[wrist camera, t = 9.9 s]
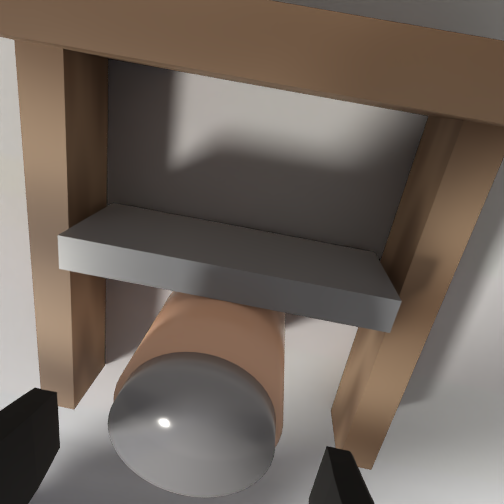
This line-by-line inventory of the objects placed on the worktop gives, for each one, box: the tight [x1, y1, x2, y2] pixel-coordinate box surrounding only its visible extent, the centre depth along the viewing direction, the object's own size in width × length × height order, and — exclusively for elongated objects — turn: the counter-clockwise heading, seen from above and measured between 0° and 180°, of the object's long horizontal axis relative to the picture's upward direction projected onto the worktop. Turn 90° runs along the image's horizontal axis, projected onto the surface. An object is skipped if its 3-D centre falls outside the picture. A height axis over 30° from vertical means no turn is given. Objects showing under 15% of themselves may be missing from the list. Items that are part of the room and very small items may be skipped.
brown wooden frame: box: [0, 0, 504, 470], centre depth 13 cm, size 16×15×6 cm
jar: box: [108, 291, 285, 497], centre depth 14 cm, size 5×5×8 cm
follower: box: [58, 203, 402, 333], centre depth 14 cm, size 1×11×4 cm, turn 81°
